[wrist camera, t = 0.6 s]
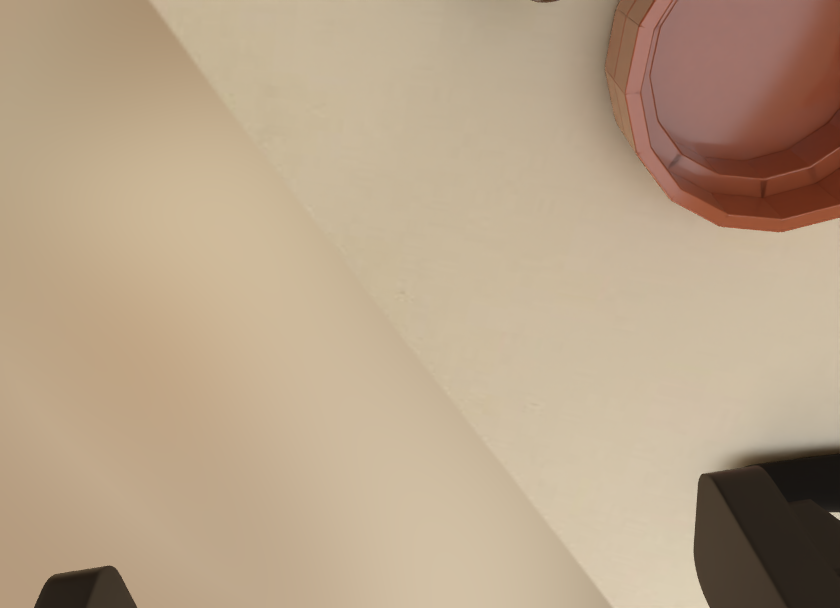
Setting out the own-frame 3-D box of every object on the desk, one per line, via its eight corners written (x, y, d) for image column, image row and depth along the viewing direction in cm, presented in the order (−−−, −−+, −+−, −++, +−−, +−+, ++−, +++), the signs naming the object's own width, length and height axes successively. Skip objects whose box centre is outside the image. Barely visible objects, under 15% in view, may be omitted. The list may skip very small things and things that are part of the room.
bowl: (638, -128, 29) (670, -133, 24) (953, -102, 29) (1050, -101, 24) (582, 172, 35) (599, 215, 30) (843, 196, 35) (903, 244, 30)
